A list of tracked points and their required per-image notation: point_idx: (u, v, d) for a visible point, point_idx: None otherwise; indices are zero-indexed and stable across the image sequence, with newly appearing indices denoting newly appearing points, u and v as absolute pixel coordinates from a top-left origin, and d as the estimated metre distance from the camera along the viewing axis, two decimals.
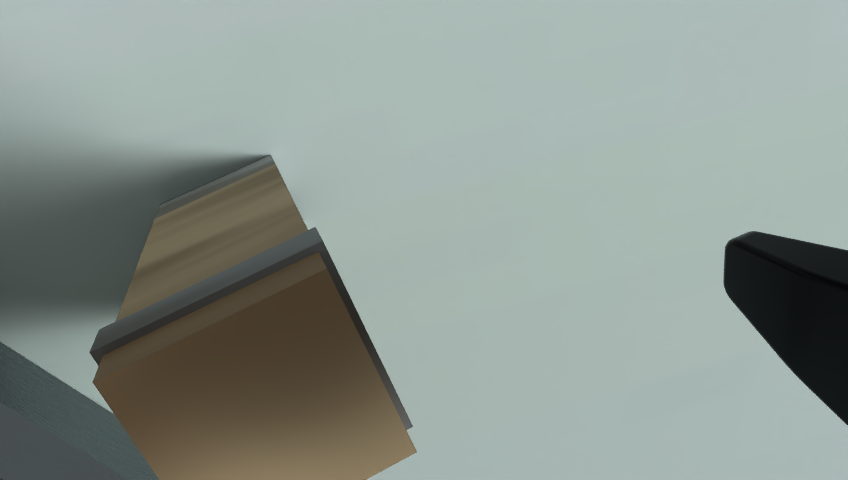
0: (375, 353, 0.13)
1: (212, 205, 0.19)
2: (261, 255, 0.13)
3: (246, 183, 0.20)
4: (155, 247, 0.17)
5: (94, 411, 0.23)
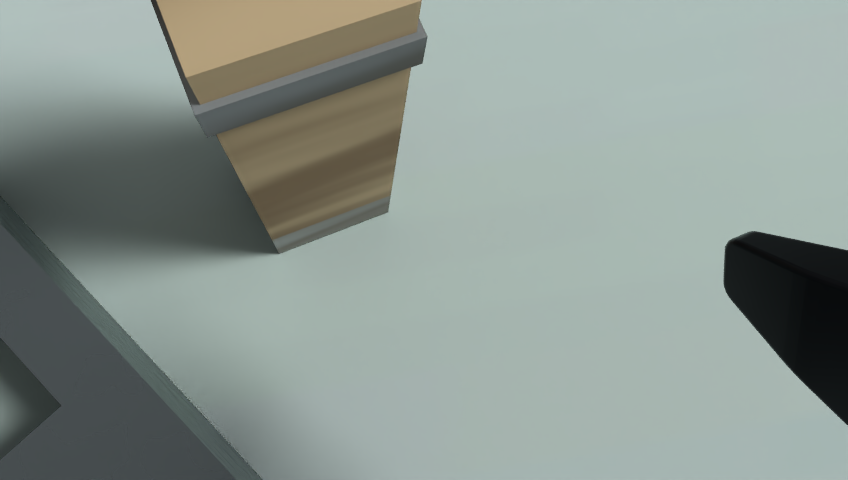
0: None
1: None
2: None
3: None
4: None
5: (136, 348, 0.21)
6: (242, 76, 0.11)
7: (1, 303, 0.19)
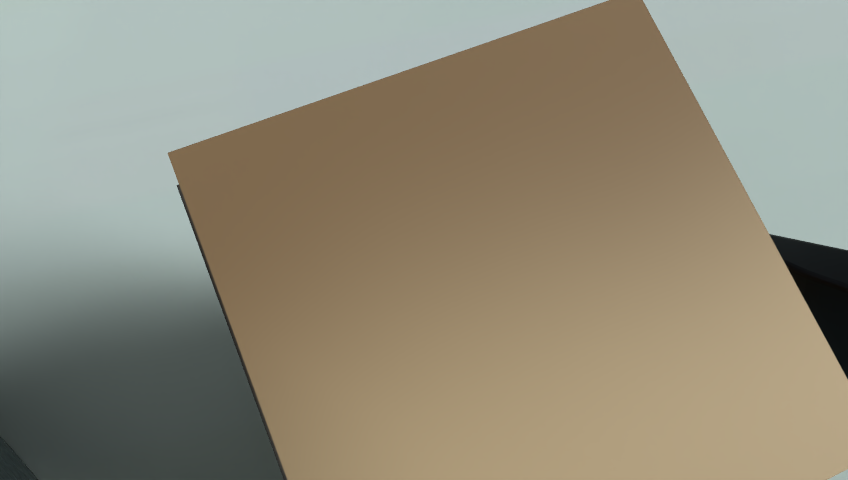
0: None
1: None
2: None
3: None
4: None
5: None
6: None
7: None
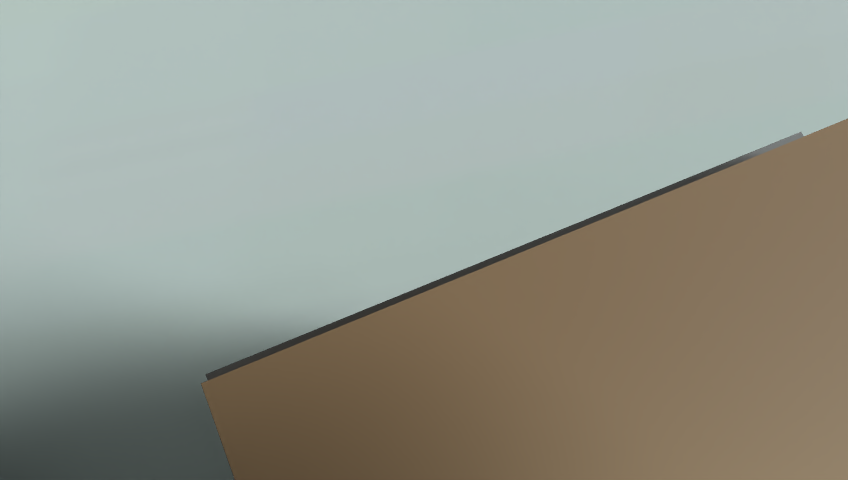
0: None
1: None
2: None
3: None
4: None
5: None
6: None
7: None
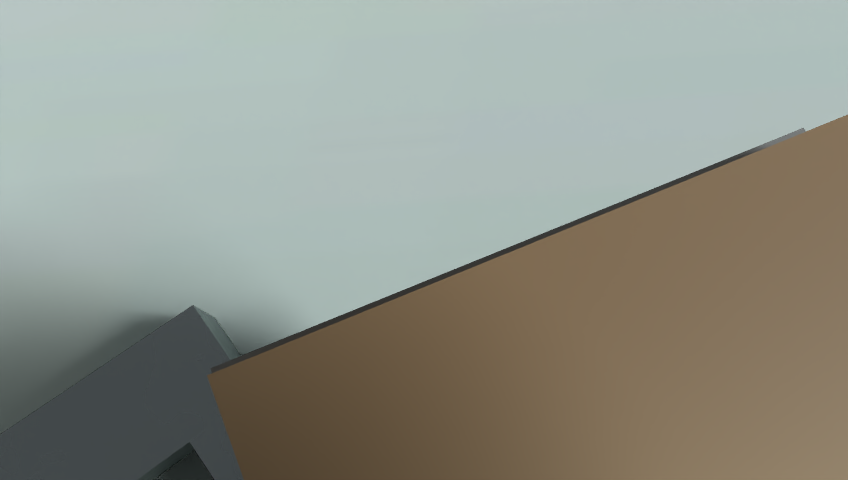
0: None
1: None
2: None
3: None
4: None
5: None
6: None
7: None
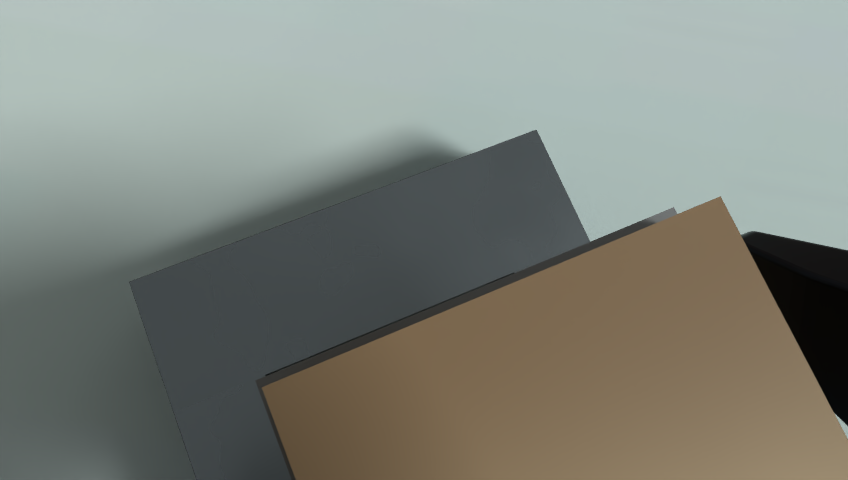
0: None
1: None
2: None
3: None
4: None
5: None
6: None
7: None
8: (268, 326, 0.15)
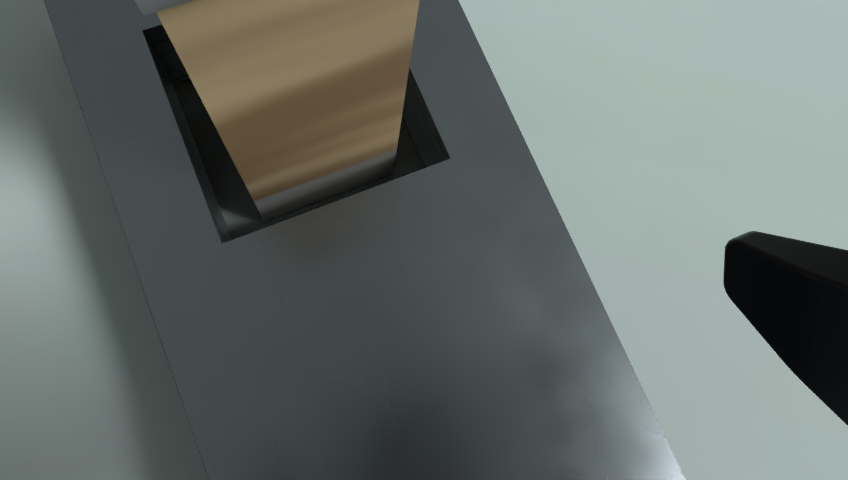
0: None
1: None
2: None
3: None
4: None
5: None
6: None
7: (421, 39, 0.18)
8: None
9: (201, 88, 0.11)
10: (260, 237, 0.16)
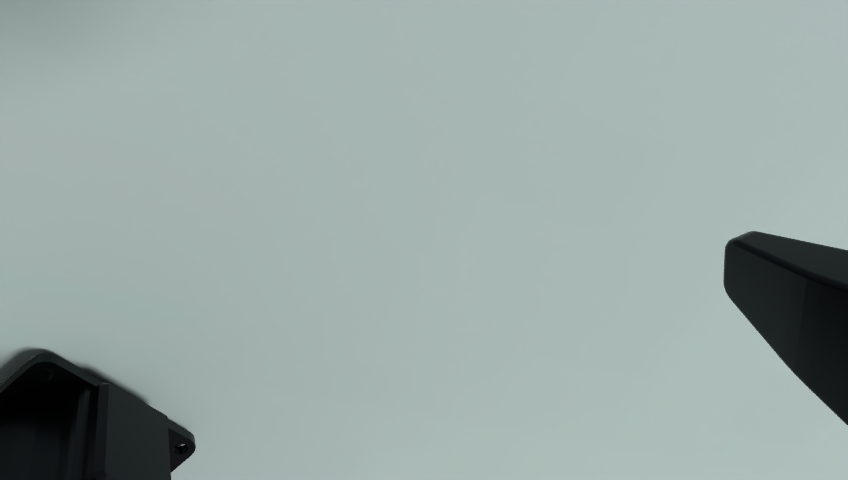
0: None
1: None
2: None
3: None
4: None
5: None
6: None
7: None
8: None
9: None
10: None
